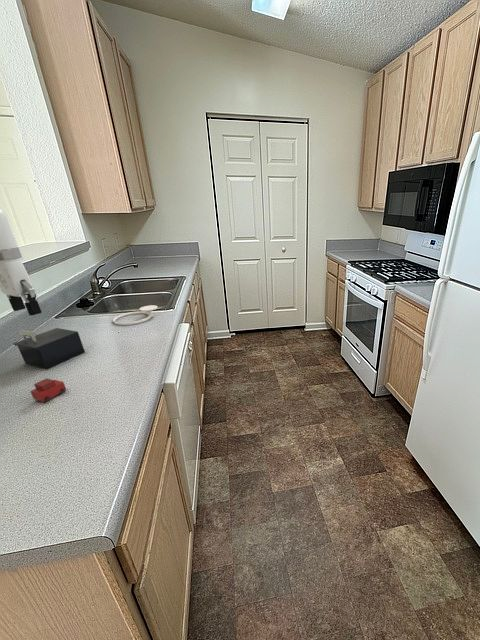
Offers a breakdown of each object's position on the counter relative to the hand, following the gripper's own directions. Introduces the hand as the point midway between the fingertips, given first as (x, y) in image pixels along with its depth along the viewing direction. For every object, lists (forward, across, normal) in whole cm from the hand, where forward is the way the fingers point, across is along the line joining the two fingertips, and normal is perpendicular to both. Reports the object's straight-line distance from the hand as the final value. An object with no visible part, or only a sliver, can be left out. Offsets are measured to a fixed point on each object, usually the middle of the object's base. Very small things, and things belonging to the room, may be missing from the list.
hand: (27, 312), depth 103 cm
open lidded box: (+21, -9, +6) cm, 23 cm away
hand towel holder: (+21, -19, +48) cm, 56 cm away
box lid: (+13, -9, +6) cm, 17 cm away
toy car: (+21, +18, -9) cm, 29 cm away
